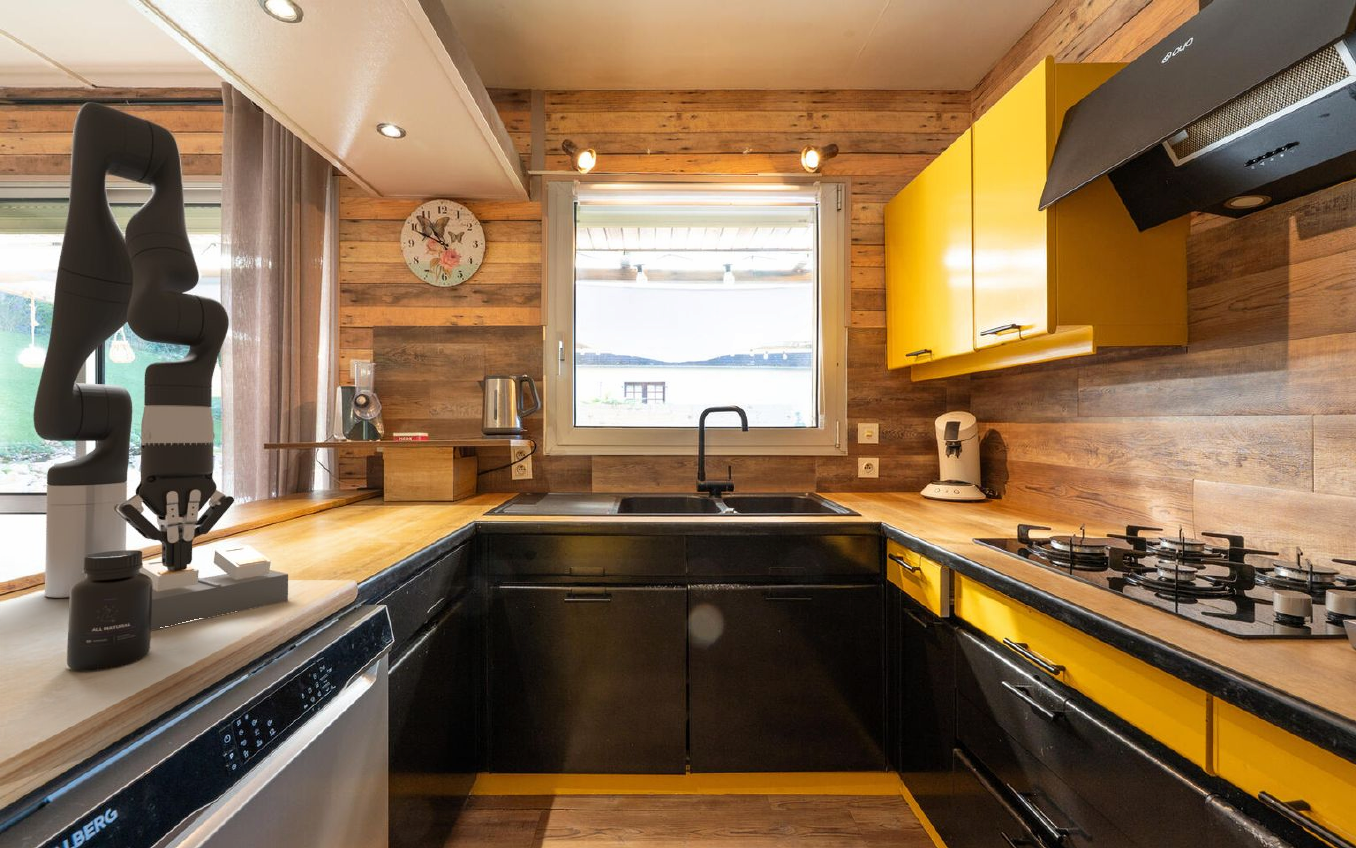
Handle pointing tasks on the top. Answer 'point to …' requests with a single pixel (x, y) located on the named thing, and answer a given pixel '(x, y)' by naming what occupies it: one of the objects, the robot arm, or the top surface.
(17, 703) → the top surface
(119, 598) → the supplement bottle
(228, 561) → the rocker
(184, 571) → the block
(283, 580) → the switch panel
